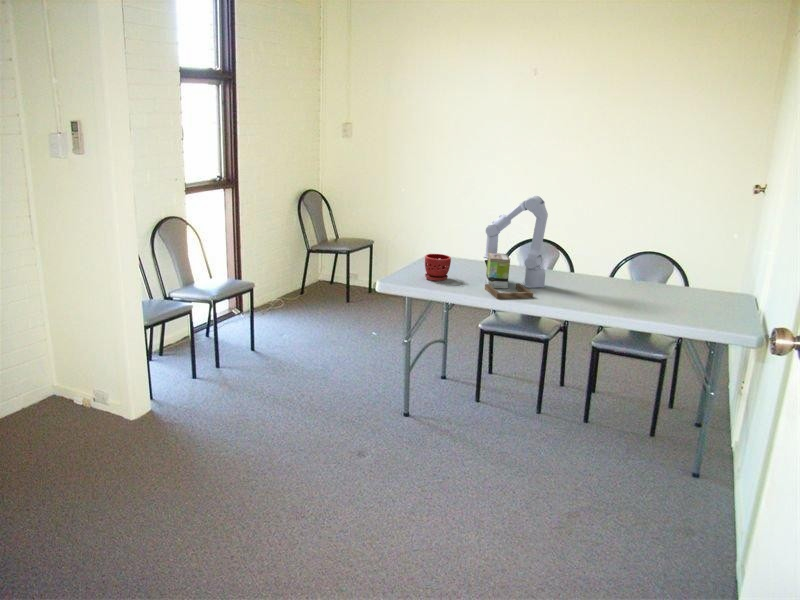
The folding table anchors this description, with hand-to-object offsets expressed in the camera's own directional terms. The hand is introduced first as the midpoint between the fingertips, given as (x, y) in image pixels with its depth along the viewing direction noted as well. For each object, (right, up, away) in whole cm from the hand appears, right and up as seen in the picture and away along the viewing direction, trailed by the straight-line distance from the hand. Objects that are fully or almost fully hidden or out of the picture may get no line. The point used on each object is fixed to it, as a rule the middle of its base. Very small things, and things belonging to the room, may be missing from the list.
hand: (490, 274), depth 345 cm
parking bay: (+5, -10, -24) cm, 27 cm away
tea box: (+2, -6, -9) cm, 11 cm away
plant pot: (-27, -3, -1) cm, 27 cm away
